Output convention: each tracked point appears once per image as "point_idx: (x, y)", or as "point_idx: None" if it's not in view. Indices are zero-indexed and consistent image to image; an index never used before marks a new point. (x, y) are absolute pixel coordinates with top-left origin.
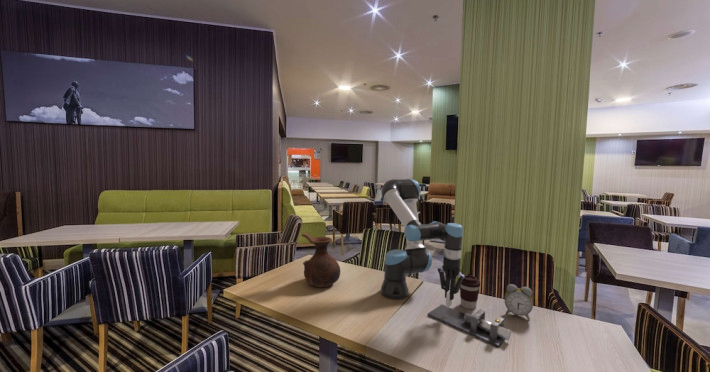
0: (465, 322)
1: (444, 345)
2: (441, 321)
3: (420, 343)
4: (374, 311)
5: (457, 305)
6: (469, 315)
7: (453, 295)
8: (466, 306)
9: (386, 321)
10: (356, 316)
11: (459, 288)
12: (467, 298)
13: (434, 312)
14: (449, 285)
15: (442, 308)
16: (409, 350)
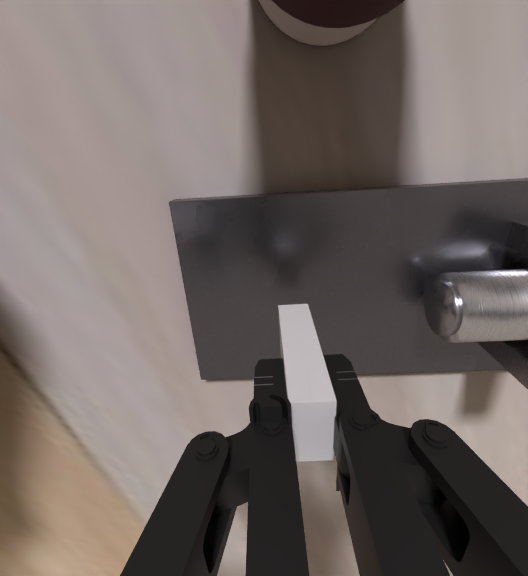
0: None
1: None
2: None
3: (323, 526)
4: (39, 503)
5: (245, 53)
6: (496, 334)
7: (361, 398)
8: (343, 39)
9: (136, 516)
10: (48, 555)
11: (521, 502)
12: (385, 9)
13: (218, 343)
14: (301, 511)
15: (216, 256)
16: (318, 563)
